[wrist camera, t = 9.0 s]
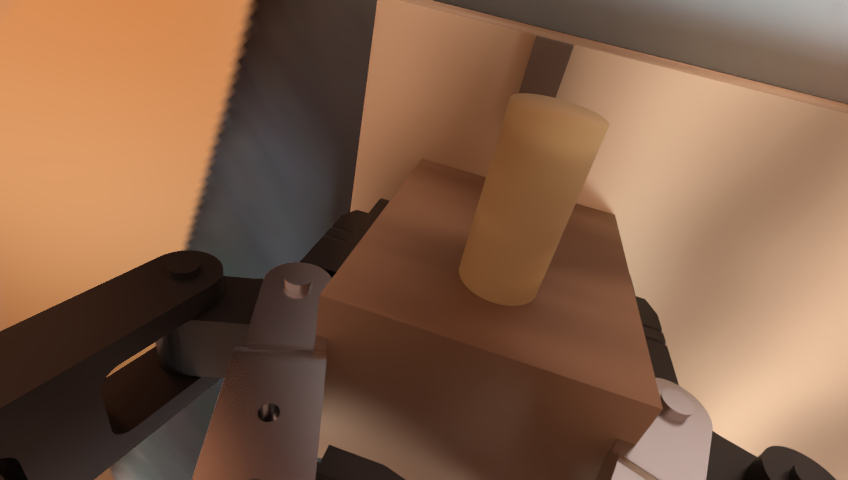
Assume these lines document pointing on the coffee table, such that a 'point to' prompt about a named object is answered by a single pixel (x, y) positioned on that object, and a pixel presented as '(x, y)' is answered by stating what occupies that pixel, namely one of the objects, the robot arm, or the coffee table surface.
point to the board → (658, 200)
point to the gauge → (490, 317)
